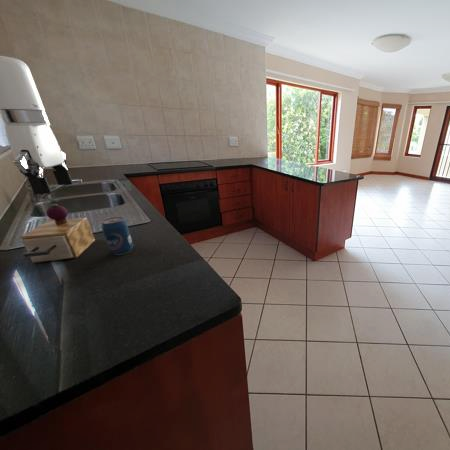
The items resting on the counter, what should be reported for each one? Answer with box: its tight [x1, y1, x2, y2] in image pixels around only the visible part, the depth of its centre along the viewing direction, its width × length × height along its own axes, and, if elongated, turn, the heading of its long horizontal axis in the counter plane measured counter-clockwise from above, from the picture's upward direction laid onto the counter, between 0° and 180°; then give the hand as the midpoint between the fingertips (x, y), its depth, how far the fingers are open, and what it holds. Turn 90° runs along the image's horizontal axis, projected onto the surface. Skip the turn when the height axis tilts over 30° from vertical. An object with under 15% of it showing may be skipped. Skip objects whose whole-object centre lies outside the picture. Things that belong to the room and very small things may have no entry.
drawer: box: [21, 235, 74, 263], centre depth 79 cm, size 18×10×8 cm, turn 18°
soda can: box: [101, 216, 134, 256], centre depth 82 cm, size 7×7×12 cm
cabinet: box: [20, 217, 96, 264], centre depth 83 cm, size 14×12×10 cm
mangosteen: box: [46, 203, 69, 224], centre depth 82 cm, size 5×5×7 cm
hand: (55, 188), depth 63 cm, fingers open, 9 cm apart
